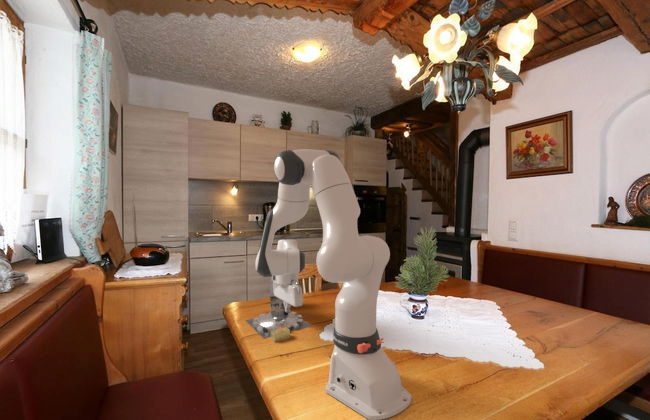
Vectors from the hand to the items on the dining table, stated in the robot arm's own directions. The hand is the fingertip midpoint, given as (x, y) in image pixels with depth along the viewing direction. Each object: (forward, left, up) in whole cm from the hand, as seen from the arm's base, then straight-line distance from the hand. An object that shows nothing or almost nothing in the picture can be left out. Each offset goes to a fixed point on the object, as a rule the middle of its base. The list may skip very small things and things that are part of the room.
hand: (287, 312), depth 123 cm
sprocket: (-1, +5, -3) cm, 6 cm away
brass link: (-14, +10, -4) cm, 18 cm away
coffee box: (+16, -3, -4) cm, 16 cm away
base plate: (-1, +5, -4) cm, 6 cm away
